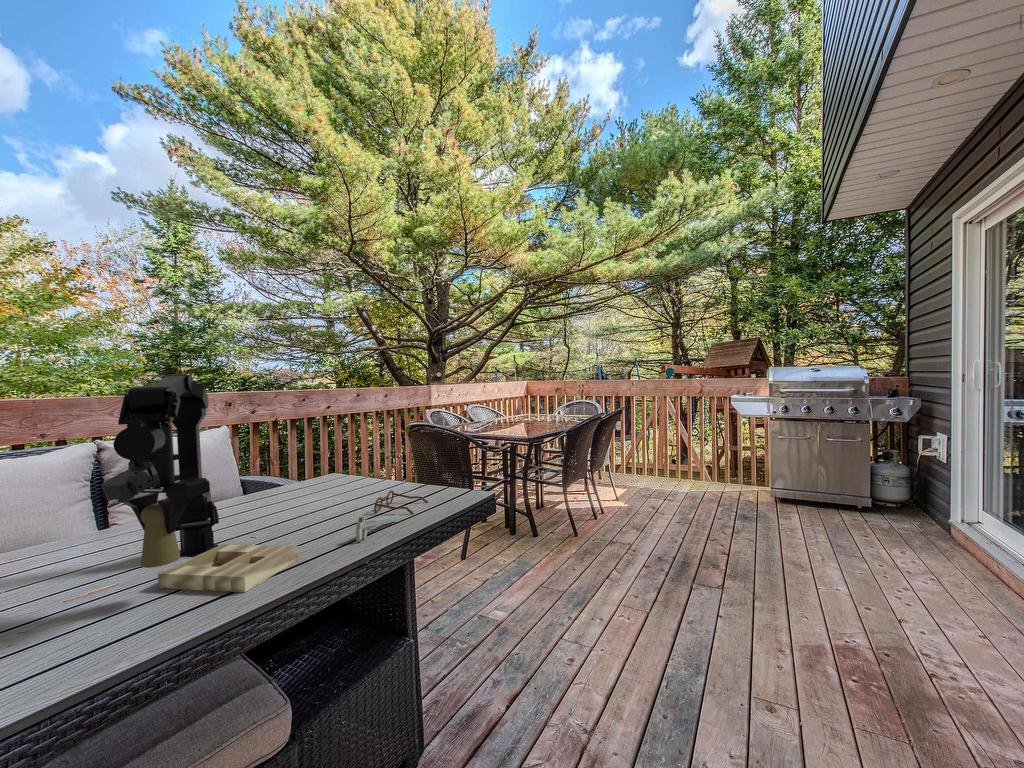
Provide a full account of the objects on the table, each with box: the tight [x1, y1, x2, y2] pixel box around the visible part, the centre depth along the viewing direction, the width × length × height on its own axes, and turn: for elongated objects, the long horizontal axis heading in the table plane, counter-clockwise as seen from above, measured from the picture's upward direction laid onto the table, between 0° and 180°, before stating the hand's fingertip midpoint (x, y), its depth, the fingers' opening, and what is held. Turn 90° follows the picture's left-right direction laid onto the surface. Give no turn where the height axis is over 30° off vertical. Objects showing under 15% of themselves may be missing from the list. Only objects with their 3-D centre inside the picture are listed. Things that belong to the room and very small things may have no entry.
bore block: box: [157, 544, 299, 593], centre depth 98 cm, size 20×16×3 cm
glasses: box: [373, 489, 430, 515], centre depth 143 cm, size 13×13×5 cm
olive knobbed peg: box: [140, 503, 181, 569], centre depth 87 cm, size 6×6×11 cm
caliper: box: [355, 514, 403, 543], centre depth 123 cm, size 20×1×6 cm, turn 163°
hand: (159, 532), depth 87 cm, fingers closed on olive knobbed peg, 5 cm apart
